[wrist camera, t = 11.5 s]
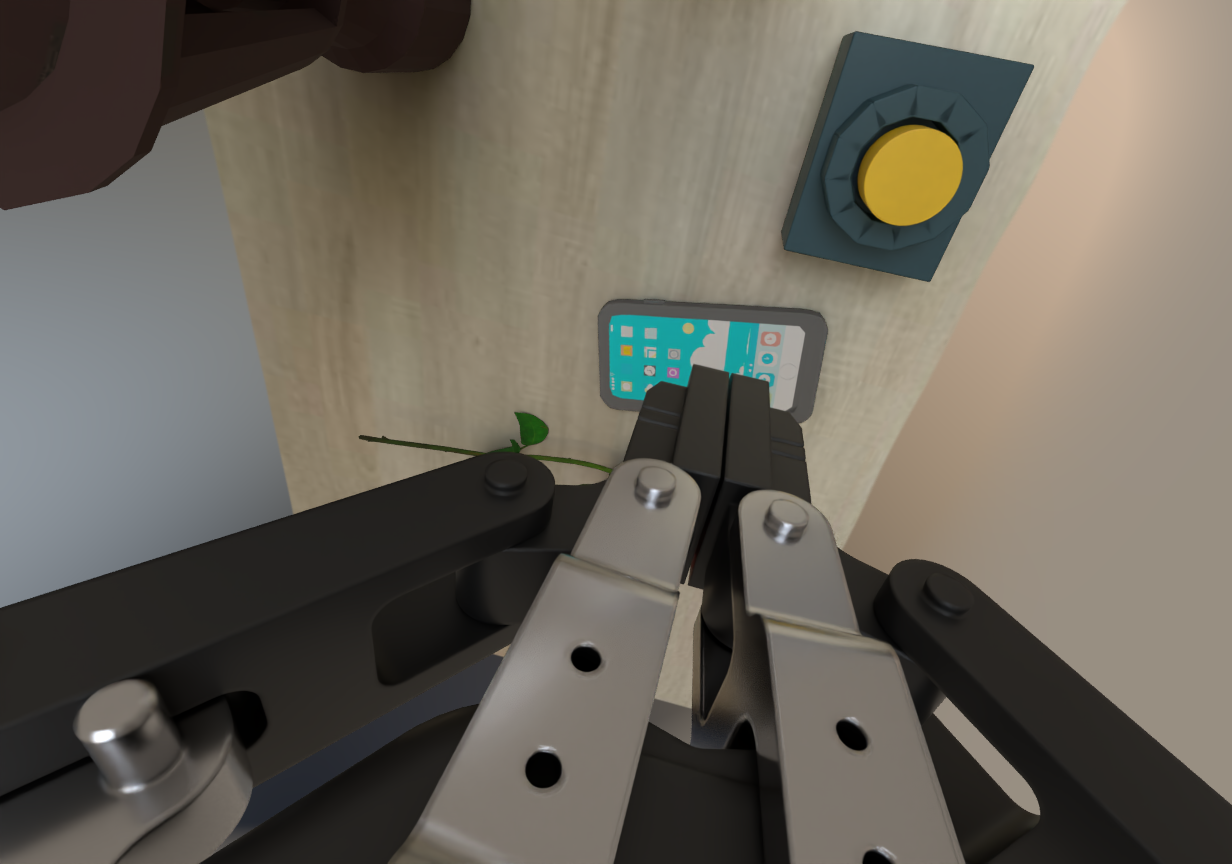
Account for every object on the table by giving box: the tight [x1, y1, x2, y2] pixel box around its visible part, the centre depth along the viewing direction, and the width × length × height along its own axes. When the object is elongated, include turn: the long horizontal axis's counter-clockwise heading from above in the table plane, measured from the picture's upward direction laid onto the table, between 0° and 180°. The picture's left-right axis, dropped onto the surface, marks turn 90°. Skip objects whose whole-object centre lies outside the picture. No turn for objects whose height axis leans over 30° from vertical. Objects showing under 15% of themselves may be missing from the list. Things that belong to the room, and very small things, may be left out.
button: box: [857, 125, 963, 226], centre depth 26 cm, size 4×4×2 cm
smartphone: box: [598, 299, 828, 423], centre depth 40 cm, size 9×1×15 cm
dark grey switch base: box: [781, 31, 1034, 282], centre depth 29 cm, size 10×8×6 cm
